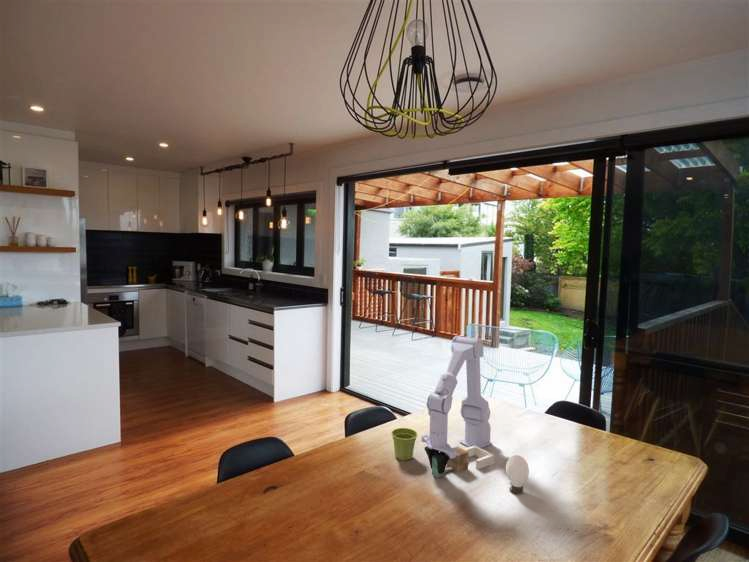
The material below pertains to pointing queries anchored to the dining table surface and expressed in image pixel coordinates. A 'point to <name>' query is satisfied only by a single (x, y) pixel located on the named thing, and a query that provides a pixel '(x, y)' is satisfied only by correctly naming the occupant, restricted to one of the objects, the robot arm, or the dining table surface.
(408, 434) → the plant pot
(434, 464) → the tethered block
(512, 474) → the light bulb
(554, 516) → the dining table surface
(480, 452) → the shelf lane
